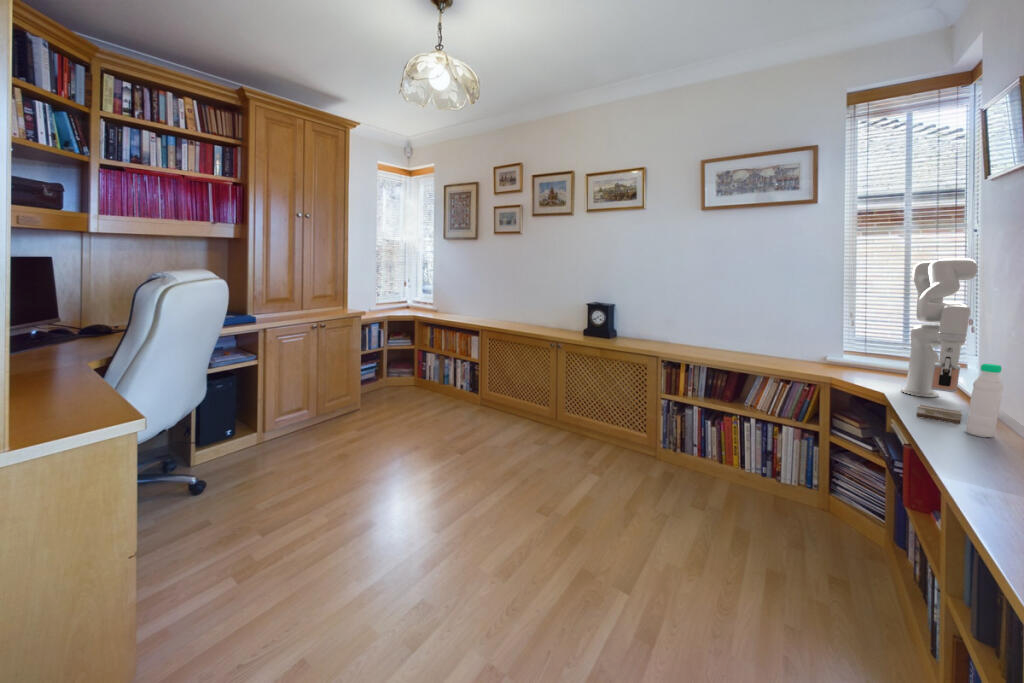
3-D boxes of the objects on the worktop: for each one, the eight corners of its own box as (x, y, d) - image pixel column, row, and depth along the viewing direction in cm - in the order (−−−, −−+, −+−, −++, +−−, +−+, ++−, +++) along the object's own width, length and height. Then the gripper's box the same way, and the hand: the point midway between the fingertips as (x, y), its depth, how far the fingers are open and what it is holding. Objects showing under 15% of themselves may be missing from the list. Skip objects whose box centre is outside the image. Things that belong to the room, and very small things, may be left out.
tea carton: (931, 386, 174) (935, 362, 172) (956, 390, 169) (960, 364, 167) (930, 389, 170) (934, 364, 168) (956, 393, 165) (960, 367, 163)
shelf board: (919, 408, 181) (921, 399, 180) (961, 415, 172) (962, 405, 172) (916, 416, 171) (917, 407, 170) (959, 424, 163) (961, 414, 162)
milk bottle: (981, 438, 149) (994, 367, 145) (959, 431, 156) (970, 362, 152) (1000, 437, 150) (1013, 366, 146) (977, 430, 157) (989, 362, 153)
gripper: (965, 341, 157) (957, 390, 160) (966, 336, 169) (959, 381, 172) (936, 339, 163) (929, 386, 166) (939, 334, 174) (932, 378, 177)
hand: (944, 383), depth 169 cm, fingers closed on tea carton, 5 cm apart
